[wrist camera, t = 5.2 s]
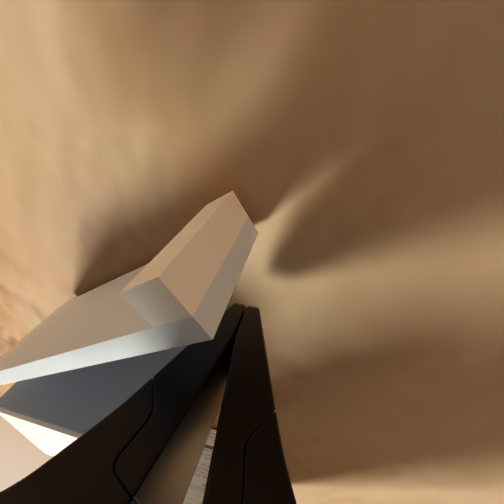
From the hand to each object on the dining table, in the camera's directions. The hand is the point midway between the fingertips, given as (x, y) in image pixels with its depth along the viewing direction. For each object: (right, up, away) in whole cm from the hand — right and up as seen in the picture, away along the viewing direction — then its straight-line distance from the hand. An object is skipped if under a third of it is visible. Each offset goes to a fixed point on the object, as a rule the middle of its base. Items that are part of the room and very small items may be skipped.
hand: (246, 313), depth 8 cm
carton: (-6, -4, +6) cm, 9 cm away
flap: (-5, +2, +1) cm, 5 cm away
